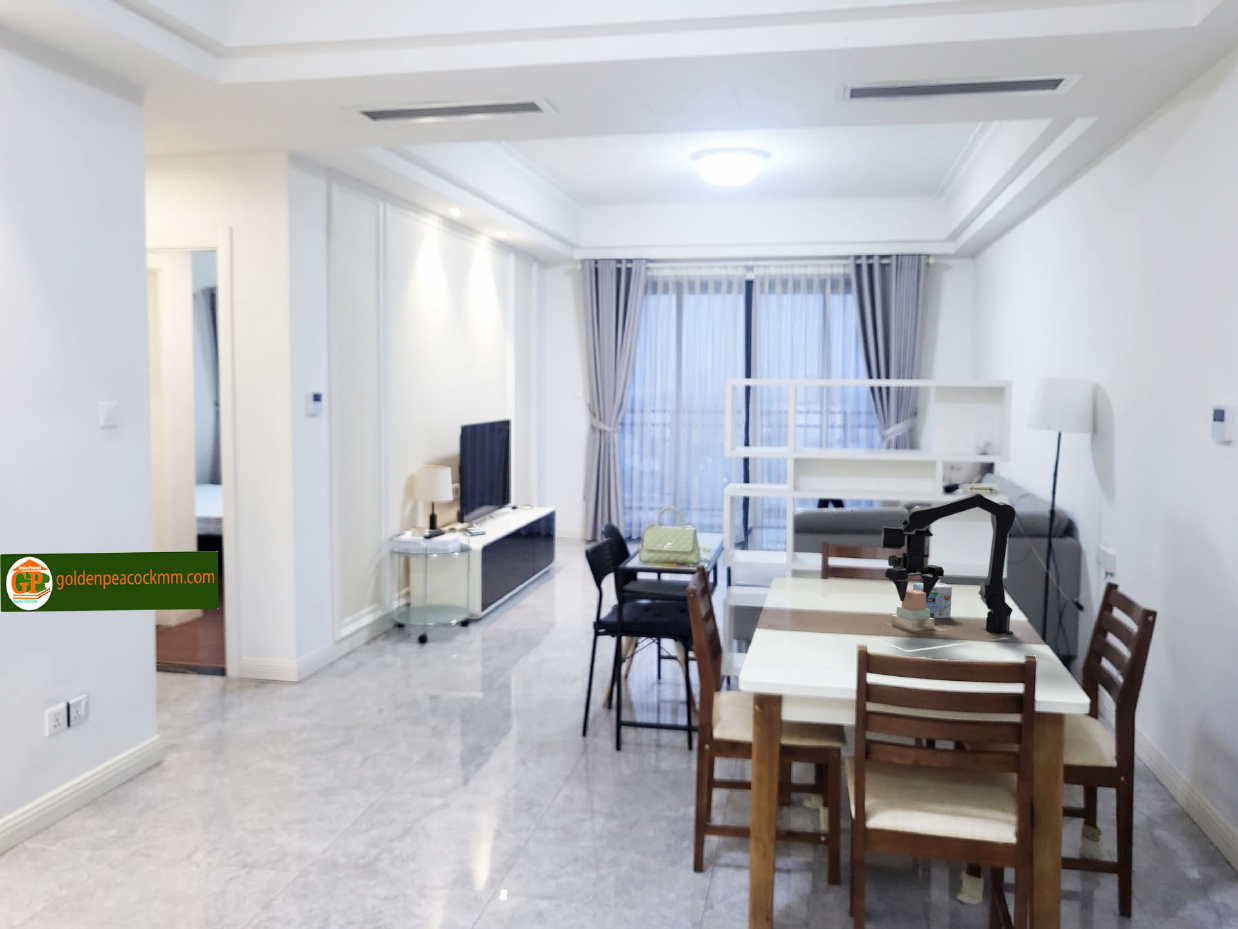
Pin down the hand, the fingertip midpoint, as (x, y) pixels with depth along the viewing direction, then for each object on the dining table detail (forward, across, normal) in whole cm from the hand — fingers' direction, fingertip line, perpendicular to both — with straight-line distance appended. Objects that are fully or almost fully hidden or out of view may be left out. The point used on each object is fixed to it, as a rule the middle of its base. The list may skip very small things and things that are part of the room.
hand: (913, 600), depth 298 cm
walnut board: (+9, -2, +1) cm, 9 cm away
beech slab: (+8, 0, 0) cm, 8 cm away
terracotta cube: (+2, 0, 0) cm, 2 cm away
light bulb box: (+9, -16, -9) cm, 21 cm away
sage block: (+5, 0, 0) cm, 5 cm away
